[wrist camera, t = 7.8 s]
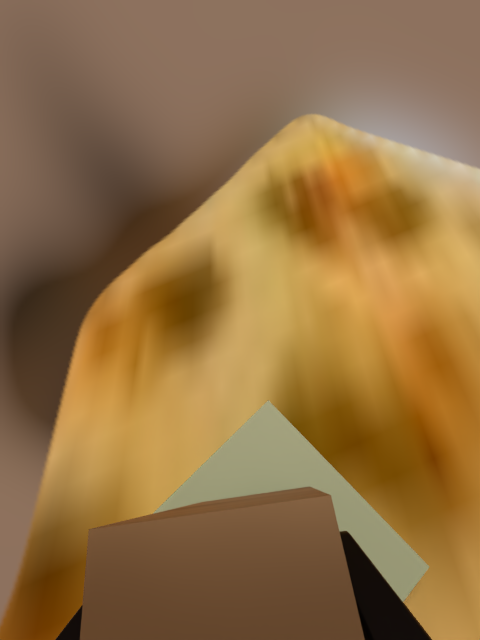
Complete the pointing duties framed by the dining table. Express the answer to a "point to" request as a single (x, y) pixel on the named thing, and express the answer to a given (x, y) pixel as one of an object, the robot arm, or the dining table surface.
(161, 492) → the dining table surface
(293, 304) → the dining table surface
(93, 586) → the walnut block
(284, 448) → the sage slab
